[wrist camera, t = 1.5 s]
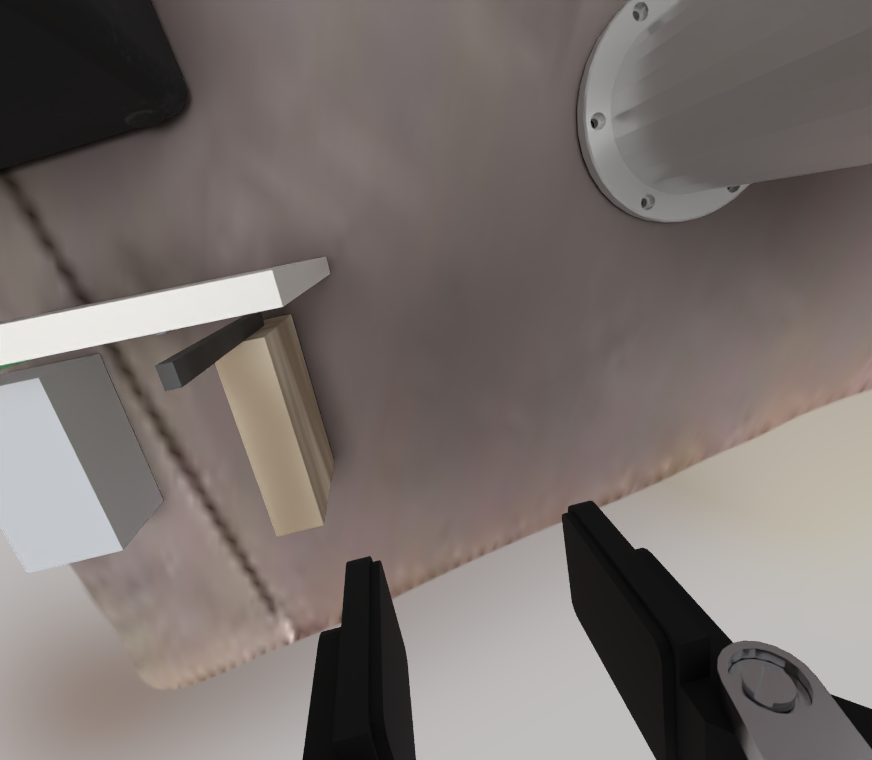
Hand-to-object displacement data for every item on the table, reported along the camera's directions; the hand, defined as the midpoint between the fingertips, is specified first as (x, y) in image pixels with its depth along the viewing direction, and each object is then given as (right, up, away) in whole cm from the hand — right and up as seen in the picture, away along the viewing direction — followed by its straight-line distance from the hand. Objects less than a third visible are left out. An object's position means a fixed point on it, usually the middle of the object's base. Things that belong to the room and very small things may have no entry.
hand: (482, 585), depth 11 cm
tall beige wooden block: (-10, +4, +18) cm, 21 cm away
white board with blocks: (-16, +4, +17) cm, 23 cm away
